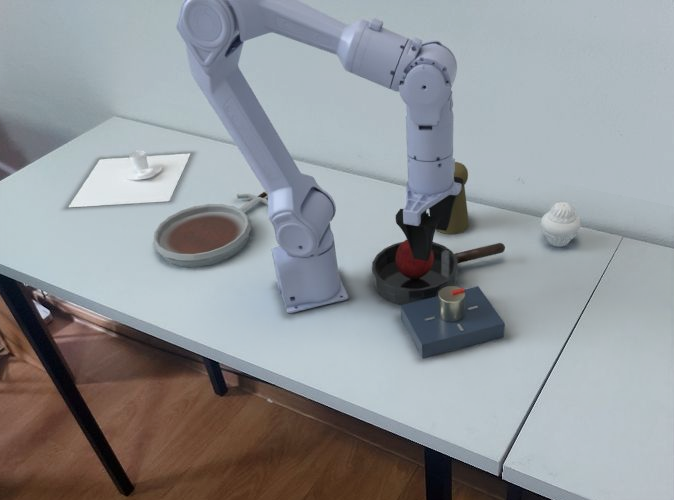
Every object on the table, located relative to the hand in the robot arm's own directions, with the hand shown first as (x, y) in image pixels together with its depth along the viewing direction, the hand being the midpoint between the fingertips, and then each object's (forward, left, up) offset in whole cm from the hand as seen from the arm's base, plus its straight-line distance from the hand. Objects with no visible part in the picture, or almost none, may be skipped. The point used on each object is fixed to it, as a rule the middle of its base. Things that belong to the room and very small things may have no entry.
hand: (431, 243), depth 91 cm
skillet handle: (+10, +6, -9) cm, 15 cm away
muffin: (+25, +7, -11) cm, 28 cm away
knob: (0, -7, -8) cm, 10 cm away
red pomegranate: (0, +6, -10) cm, 12 cm away
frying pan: (-26, +34, -11) cm, 44 cm away
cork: (+11, +18, -11) cm, 24 cm away
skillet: (0, +6, -10) cm, 12 cm away
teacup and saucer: (-42, +60, -11) cm, 74 cm away
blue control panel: (+1, -7, -10) cm, 12 cm away
